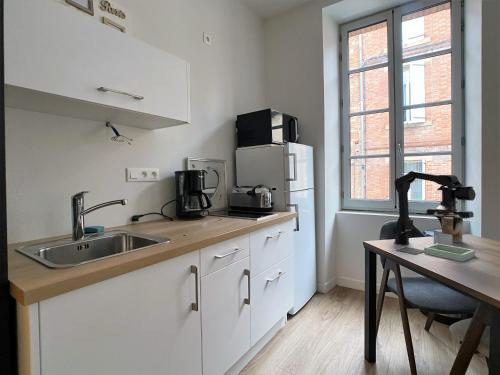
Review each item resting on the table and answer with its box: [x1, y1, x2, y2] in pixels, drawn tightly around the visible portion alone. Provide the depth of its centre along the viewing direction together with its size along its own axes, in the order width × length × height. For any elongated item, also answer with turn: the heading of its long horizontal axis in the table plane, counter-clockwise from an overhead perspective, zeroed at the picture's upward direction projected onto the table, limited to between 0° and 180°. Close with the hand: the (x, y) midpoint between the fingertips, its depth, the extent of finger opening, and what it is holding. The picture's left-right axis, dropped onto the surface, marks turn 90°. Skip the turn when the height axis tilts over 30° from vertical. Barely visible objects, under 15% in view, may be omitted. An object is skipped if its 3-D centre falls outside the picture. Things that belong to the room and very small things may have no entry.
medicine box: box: [433, 229, 453, 246], centre depth 152 cm, size 8×4×9 cm, turn 84°
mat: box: [396, 246, 424, 256], centre depth 143 cm, size 10×10×1 cm
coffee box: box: [445, 215, 464, 243], centre depth 162 cm, size 9×6×16 cm
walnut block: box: [441, 217, 456, 235], centre depth 134 cm, size 4×4×8 cm
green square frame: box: [423, 243, 476, 262], centre depth 135 cm, size 17×14×3 cm
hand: (448, 229), depth 135 cm, fingers closed on walnut block, 4 cm apart
